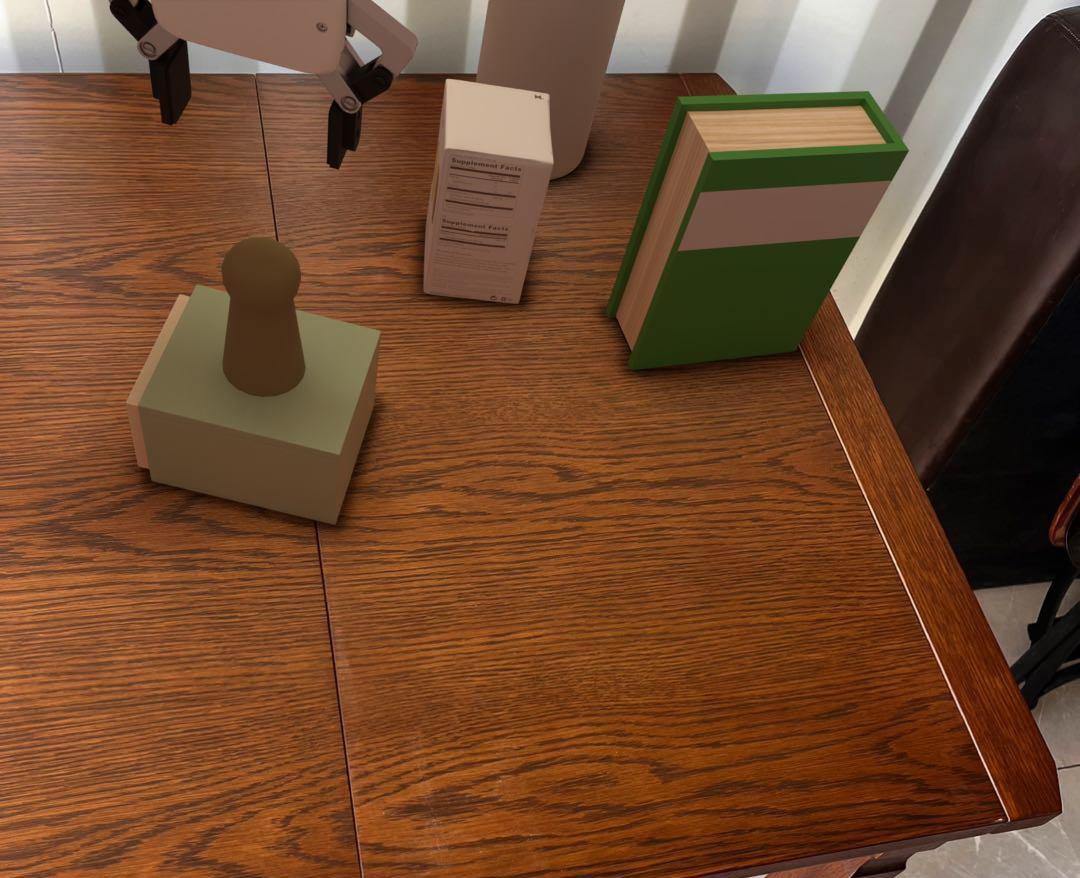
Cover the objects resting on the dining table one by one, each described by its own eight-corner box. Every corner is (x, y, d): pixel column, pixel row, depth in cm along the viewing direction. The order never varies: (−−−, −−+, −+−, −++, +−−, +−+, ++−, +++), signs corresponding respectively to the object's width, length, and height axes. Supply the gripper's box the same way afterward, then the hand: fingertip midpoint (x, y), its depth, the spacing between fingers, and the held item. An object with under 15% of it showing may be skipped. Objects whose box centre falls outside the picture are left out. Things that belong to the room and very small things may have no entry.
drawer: (122, 462, 84) (108, 398, 78) (172, 357, 91) (163, 289, 84) (308, 507, 85) (310, 448, 79) (345, 400, 92) (350, 336, 85)
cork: (270, 410, 79) (267, 302, 70) (204, 368, 80) (193, 256, 71) (322, 362, 82) (326, 253, 73) (258, 322, 83) (254, 210, 74)
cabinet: (151, 483, 85) (137, 405, 77) (204, 366, 92) (196, 283, 84) (335, 527, 86) (339, 454, 78) (373, 408, 93) (381, 330, 85)
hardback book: (630, 372, 101) (713, 160, 81) (604, 313, 104) (677, 96, 84) (794, 353, 106) (909, 150, 87) (764, 298, 110) (868, 90, 90)
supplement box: (424, 226, 106) (444, 73, 92) (517, 237, 108) (550, 89, 94) (422, 297, 101) (443, 147, 87) (520, 308, 102) (556, 162, 89)
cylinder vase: (481, 185, 111) (524, -56, 90) (456, 106, 117) (491, -137, 96) (596, 184, 114) (663, -49, 94) (566, 107, 120) (622, -127, 100)
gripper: (450, -166, 52) (416, 132, 67) (92, -269, 51) (135, 57, 65) (416, -90, 48) (387, 211, 62) (25, -200, 47) (86, 132, 61)
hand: (258, 132), depth 64 cm, fingers open, 9 cm apart
